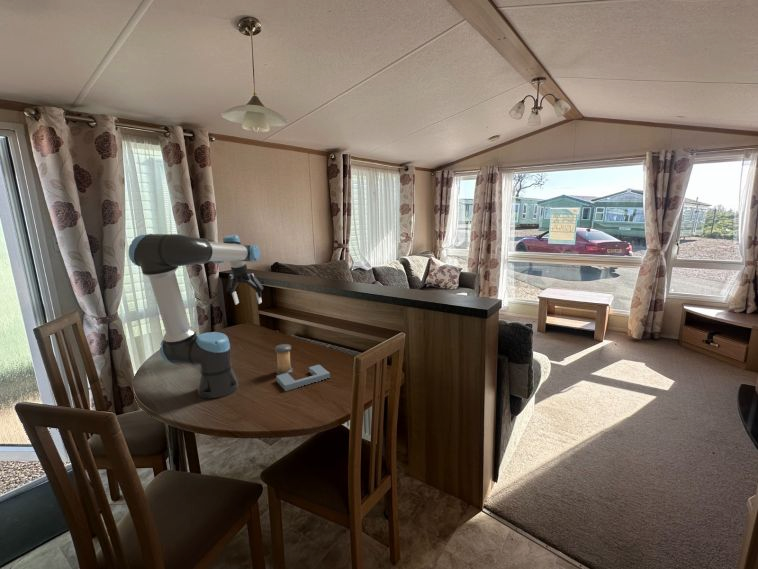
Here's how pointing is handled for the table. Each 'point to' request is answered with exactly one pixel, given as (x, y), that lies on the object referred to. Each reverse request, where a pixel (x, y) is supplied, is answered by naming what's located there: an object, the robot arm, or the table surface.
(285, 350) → the bobbin
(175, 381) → the table surface
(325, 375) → the notched board
